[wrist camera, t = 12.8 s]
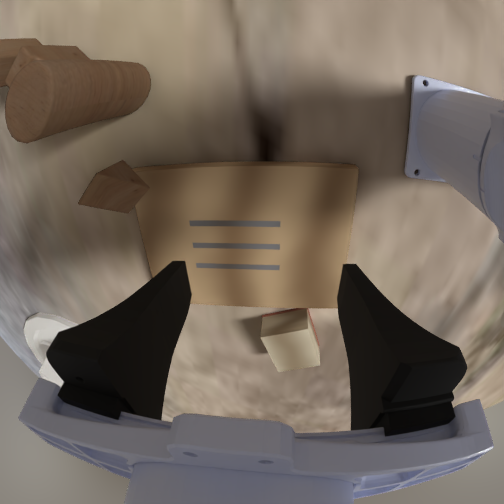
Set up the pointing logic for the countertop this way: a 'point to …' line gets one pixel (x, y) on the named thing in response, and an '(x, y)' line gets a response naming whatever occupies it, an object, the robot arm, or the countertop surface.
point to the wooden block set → (73, 105)
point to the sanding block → (290, 339)
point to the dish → (45, 340)
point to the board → (251, 229)
